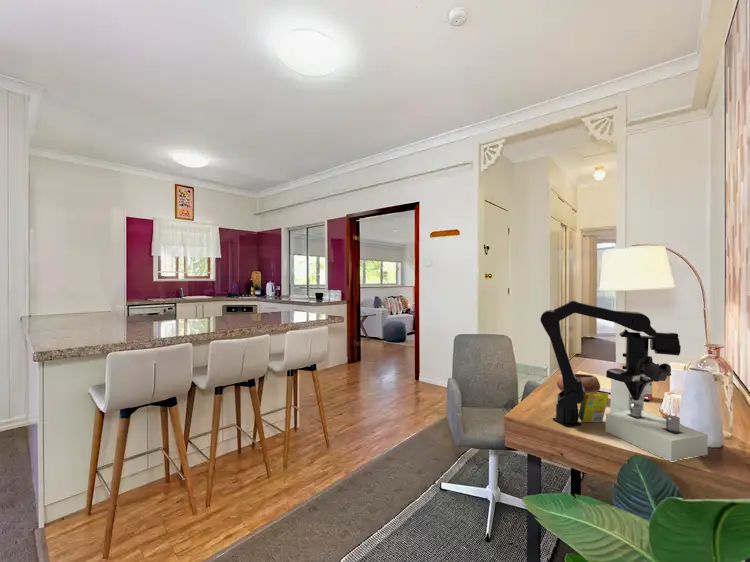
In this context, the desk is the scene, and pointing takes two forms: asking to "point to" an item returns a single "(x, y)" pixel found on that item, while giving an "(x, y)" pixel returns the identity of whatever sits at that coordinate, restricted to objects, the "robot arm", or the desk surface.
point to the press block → (657, 435)
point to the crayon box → (593, 407)
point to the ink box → (648, 390)
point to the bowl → (583, 382)
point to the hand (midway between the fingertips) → (635, 400)
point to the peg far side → (672, 424)
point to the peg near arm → (636, 410)
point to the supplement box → (622, 397)
